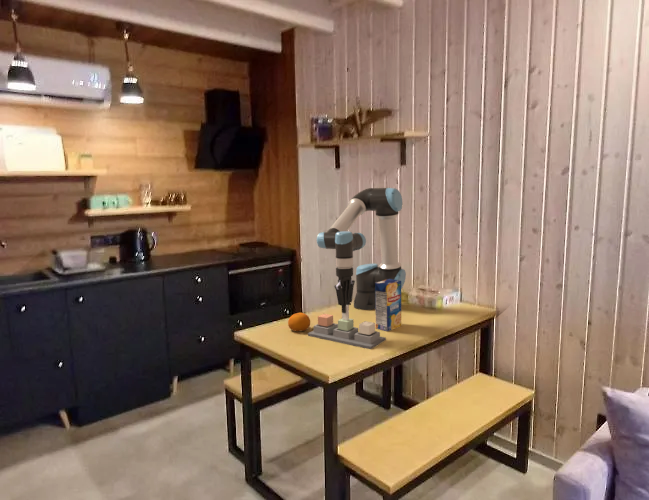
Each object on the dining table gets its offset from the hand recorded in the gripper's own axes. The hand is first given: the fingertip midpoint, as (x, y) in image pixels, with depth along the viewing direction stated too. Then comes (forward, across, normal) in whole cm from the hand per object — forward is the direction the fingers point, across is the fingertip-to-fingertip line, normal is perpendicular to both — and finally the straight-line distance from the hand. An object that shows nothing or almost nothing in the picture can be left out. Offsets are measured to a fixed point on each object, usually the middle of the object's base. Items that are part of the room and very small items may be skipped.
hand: (345, 319), depth 216 cm
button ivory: (+4, 0, +11) cm, 12 cm away
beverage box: (+9, -23, +9) cm, 26 cm away
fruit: (+9, +2, -25) cm, 27 cm away
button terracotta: (+4, 0, -11) cm, 12 cm away
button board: (+9, 0, 0) cm, 9 cm away
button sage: (+4, 0, 0) cm, 4 cm away
